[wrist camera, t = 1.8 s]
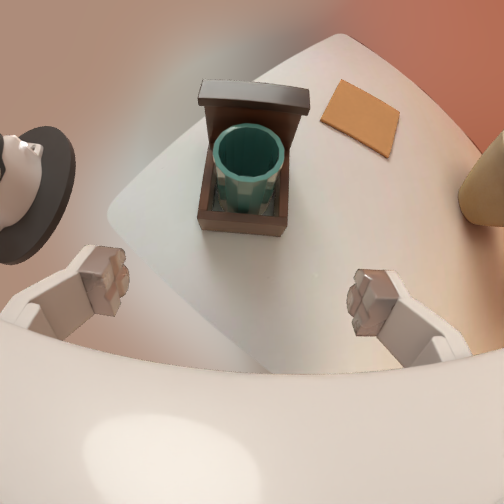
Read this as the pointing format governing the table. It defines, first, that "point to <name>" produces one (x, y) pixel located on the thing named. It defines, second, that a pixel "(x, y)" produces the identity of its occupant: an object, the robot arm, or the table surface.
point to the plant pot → (485, 188)
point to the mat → (362, 117)
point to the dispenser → (255, 112)
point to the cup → (247, 167)
